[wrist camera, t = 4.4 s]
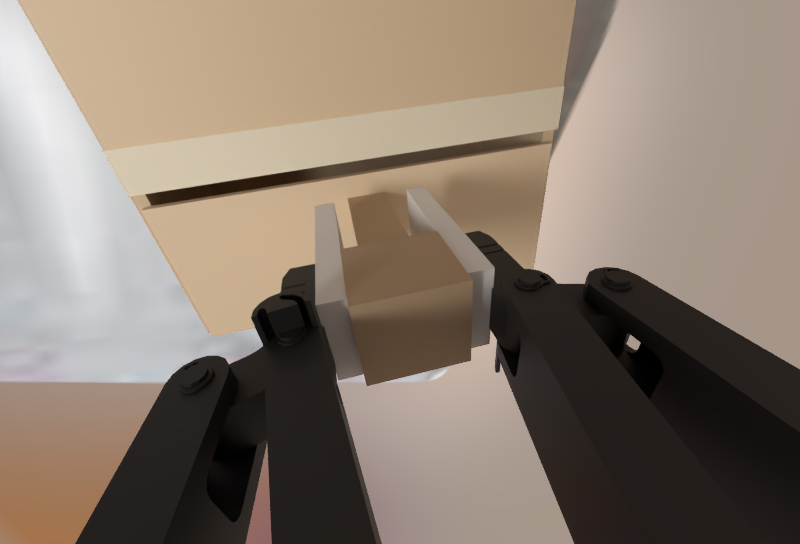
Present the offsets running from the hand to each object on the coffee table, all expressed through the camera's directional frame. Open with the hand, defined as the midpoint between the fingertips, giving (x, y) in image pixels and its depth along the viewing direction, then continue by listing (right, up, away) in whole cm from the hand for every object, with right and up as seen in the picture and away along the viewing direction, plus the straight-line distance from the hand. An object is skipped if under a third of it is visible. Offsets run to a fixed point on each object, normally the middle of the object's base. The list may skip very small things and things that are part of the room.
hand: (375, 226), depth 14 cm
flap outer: (0, 0, +3) cm, 3 cm away
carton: (-3, +7, +8) cm, 11 cm away
